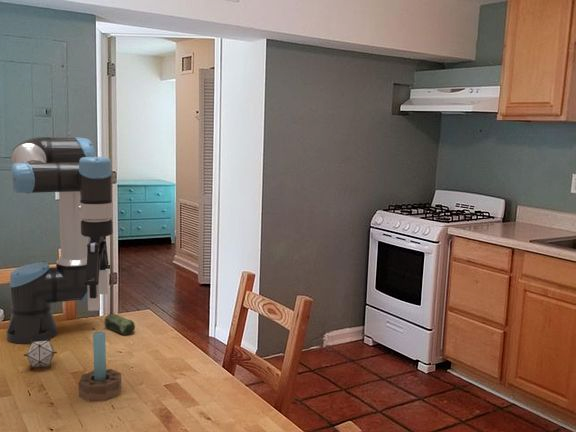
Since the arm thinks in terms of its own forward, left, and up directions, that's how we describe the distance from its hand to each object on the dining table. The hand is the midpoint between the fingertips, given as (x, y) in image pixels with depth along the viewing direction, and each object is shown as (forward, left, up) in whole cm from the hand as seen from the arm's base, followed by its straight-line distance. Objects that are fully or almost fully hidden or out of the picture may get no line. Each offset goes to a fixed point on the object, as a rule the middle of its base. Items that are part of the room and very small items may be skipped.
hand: (98, 301), depth 145 cm
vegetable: (-46, -1, -25) cm, 53 cm away
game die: (-18, -19, -25) cm, 36 cm away
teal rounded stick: (0, 0, -24) cm, 24 cm away
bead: (0, 0, -24) cm, 24 cm away
